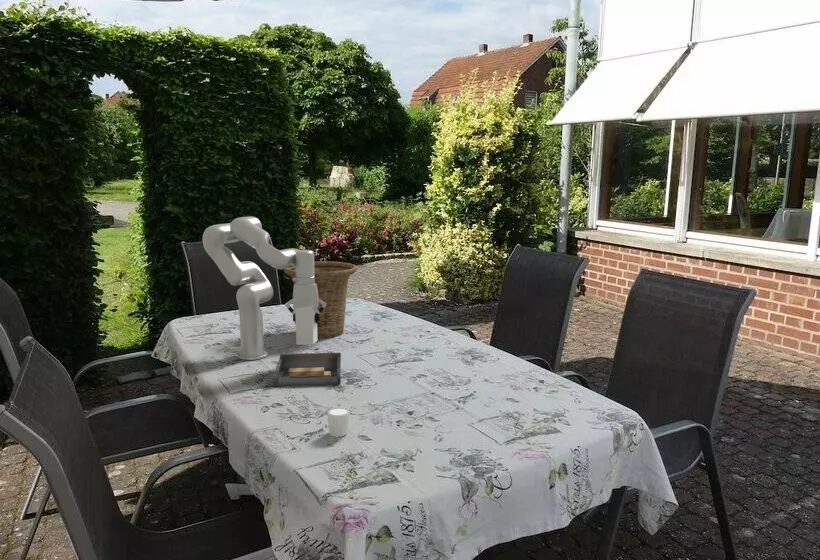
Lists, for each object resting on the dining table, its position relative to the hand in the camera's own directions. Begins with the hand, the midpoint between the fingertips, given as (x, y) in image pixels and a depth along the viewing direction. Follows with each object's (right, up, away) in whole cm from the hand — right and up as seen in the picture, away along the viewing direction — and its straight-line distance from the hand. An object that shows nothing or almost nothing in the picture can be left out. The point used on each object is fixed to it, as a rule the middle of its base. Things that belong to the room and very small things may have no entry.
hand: (306, 322), depth 255 cm
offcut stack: (+4, -21, -19) cm, 29 cm away
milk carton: (0, -9, +1) cm, 9 cm away
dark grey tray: (+3, -20, -13) cm, 25 cm away
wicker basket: (-1, -9, +53) cm, 53 cm away
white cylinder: (+21, -30, -64) cm, 74 cm away
